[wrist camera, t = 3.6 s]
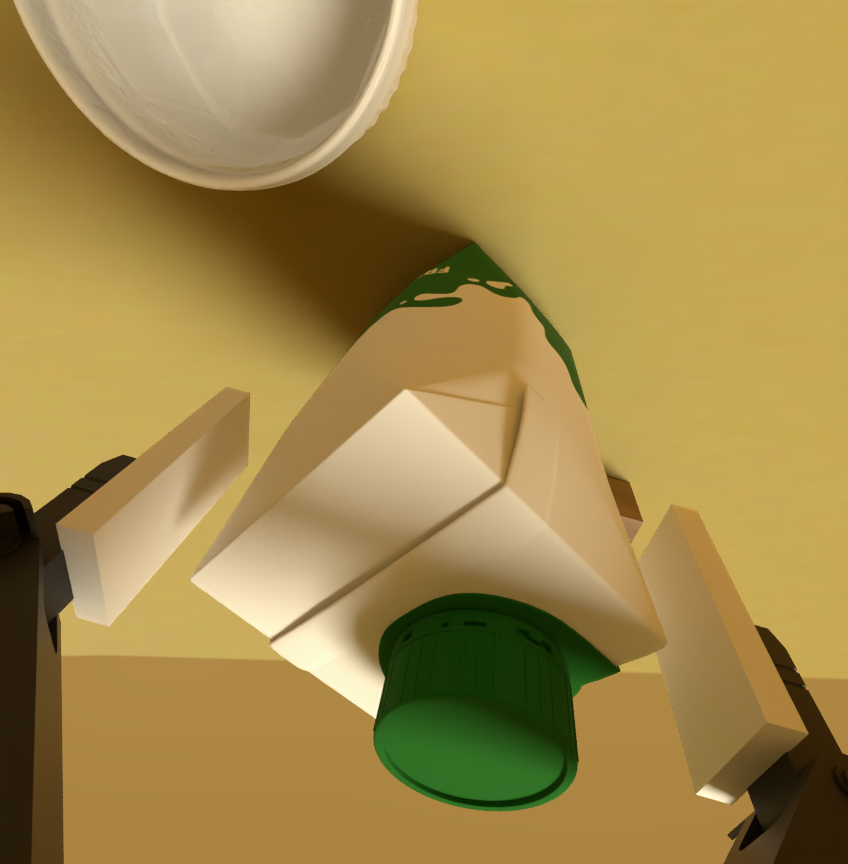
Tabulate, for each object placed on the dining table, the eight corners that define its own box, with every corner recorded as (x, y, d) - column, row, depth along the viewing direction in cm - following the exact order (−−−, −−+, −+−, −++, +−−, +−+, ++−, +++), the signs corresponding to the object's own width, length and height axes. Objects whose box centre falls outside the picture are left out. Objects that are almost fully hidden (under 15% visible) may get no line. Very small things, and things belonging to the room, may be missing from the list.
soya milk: (467, 443, 30) (404, 857, 12) (353, 332, 27) (82, 652, 10) (594, 347, 26) (760, 757, 8) (474, 208, 23) (365, 386, 6)
